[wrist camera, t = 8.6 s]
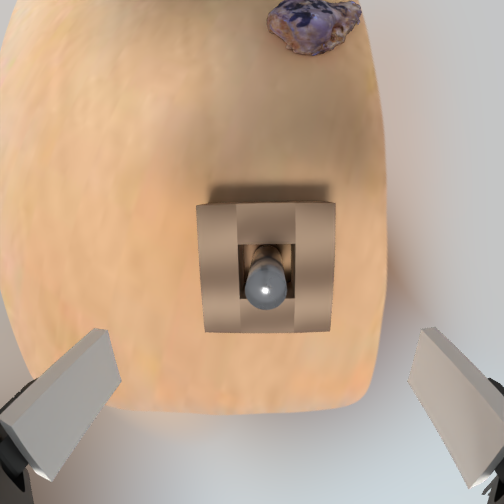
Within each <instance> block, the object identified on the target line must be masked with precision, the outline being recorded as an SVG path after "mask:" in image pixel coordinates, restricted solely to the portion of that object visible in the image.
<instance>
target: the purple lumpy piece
mask: <svg viewBox="0 0 504 504" xmlns="http://www.w3.org/2000/svg"><path fill="white" fill-rule="evenodd" d="M360 9H361V7H360V6H359V5H358V4H356V3H355V2H353V1H349V2H340V3H328V2H326V1H322V0H284V1H282V2H281V3H280V4H279V6H277V7H275V8H274V9H273V10H272V11H271V12H270V13H269V14H268V18H267V27H268V31H269V32H270V33H275V34H276V35H277V36H279V37H280V38H282V39H283V40H284V41H285V42H286V43H287V46H286V48H287V49H293V52H297V53H300V54H304V55H305V54H310V55H312V56H314V55H317V54H318V53H319V54H323V53H325V52H326V51H327V50H333V49H334V47H335V46H337V45H339V44H342V43H344V41H345V36H346V35H347V34H348V33H349V32H350V31H352V29H353V27H354V25H355V23H356V22H357V24H359V23H360V20H359V17H360V15H361V13H362V12H361V10H360ZM331 37H332V38H333V39H332V40H331Z"/></svg>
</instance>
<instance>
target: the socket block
mask: <svg viewBox="0 0 504 504" xmlns="http://www.w3.org/2000/svg"><path fill="white" fill-rule="evenodd" d="M196 211H197V233H198V250H199V266H200V280H201V293H202V305H203V316H204V327H205V332H215V333H303V332H327V331H330V325H331V313H332V299H333V282H334V261H335V203H331V202H325V201H281V202H233V203H208V204H202V205H196ZM243 244H291V282H286V286H287V295H286V298H285V300H284V301H283V303H282V304H281V305H279V306H278V307H276V308H274V309H271V310H261V309H258V308H256V307H254V306H253V305H251V304H250V302H249V301H248V300H247V297H246V294H245V286H246V283H244V261H243Z"/></svg>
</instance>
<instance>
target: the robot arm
mask: <svg viewBox="0 0 504 504" xmlns="http://www.w3.org/2000/svg"><path fill="white" fill-rule="evenodd" d="M407 382H408V383H409V385H410V387H411V388H412V390H413V391H414V393H415V395H416V396H417V398H418V399H419V401H420V403H421V405H422V406H423V408H424V409H425V411H426V413H427V414H428V416H429V418H430V419H431V421H432V423H433V425H434V426H435V428H436V430H437V432H438V433H439V435H440V436H441V438H442V440H443V442H444V444H445V446H446V447H447V449H448V451H449V453H450V455H451V456H452V458H453V460H454V462H455V464H456V466H457V467H458V469H459V471H460V473H461V475H462V477H463V479H464V481H465V483H466V485H467V487H468V489H471V488H473V487H475V486H477V485H479V484H480V483H482V482H484V481H486V480H487V478H488V477H489V476H490V475H491V474H492V472H493V471H494V470H495V472H496V473H497V476H496V477H495V478H494V479H493V480H492V482H491V483H490V484H489V485H488V486H487V487H486V488H485V489H484V491H483V493H482V495H485V494H486V492H487V491H488V490H489V489H490V488H491V487H492V488H491V492H490V493H489V494H488V495H489V500H488V503H487V504H504V387H503V386H502V385H501V384H500V383H498V382H496V381H494V380H493V379H491V378H488V379H487V378H486V377H485V376H484V375H483V374H482V373H481V371H480V370H478V368H477V367H476V366H475V365H474V364H473V363H472V362H471V361H470V360H469V359H468V358H467V357H466V356H465V355H464V354H463V353H462V352H461V351H459V349H458V348H457V347H456V346H455V345H454V344H453V343H452V342H450V341H449V339H447V338H446V337H445V336H444V335H443V334H442V333H441V332H440V331H439V330H438V329H437V328H436V327H431V328H425V329H421V331H420V336H419V340H418V345H417V348H416V352H415V356H414V360H413V364H412V367H411V371H410V374H409V378H408V381H407ZM120 383H121V377H120V374H119V371H118V367H117V364H116V360H115V357H114V353H113V349H112V345H111V341H110V337H109V333H108V330H103V329H95V328H94V329H93V330H91V331H90V332H89V333H88V334H87V335H86V336H84V337H83V338H82V339H81V340H80V341H79V342H78V343H77V344H75V345H74V346H73V347H72V348H71V349H70V350H69V351H67V352H66V353H65V354H64V355H63V356H62V357H61V358H60V359H59V360H57V361H56V362H55V363H54V364H53V365H52V366H51V367H50V368H49V369H48V370H46V371H45V372H44V373H43V374H42V375H41V376H40V377H39V378H37V379H35V380H33V381H31V382H29V383H28V384H27V385H26V386H24V387H23V388H22V389H21V392H18V393H17V394H16V395H15V397H14V398H12V399H11V400H10V401H9V402H8V403H6V404H5V405H4V406H3V407H2V408H1V409H0V504H34V502H33V497H32V491H31V485H30V478H29V473H28V470H27V469H26V468H25V467H26V466H27V465H28V463H29V465H30V466H31V467H32V468H33V470H34V471H35V472H36V473H37V474H38V475H40V476H42V477H44V478H45V479H47V480H49V481H51V482H52V481H53V480H54V478H55V476H56V475H57V473H58V472H59V470H60V469H61V467H62V466H63V464H64V463H65V461H66V460H67V458H68V457H69V456H70V454H71V453H72V451H73V450H74V448H75V447H76V445H77V444H78V442H79V441H80V439H81V438H82V436H83V435H84V434H85V432H86V431H87V429H88V428H89V426H90V425H91V423H92V422H93V421H94V419H95V418H96V416H97V415H98V413H99V412H100V411H101V409H102V408H103V406H104V405H105V404H106V402H107V401H108V399H109V398H110V397H111V395H112V394H113V392H114V391H115V390H116V388H117V387H118V385H119V384H120Z"/></svg>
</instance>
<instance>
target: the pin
mask: <svg viewBox="0 0 504 504" xmlns="http://www.w3.org/2000/svg"><path fill="white" fill-rule="evenodd" d="M245 294H246V297H247V300H248V301H249V302H250V304H251V305H253V306H254V307H256V308H258V309H261V310H271V309H274V308H276V307H278V306H279V305H281V304H282V303H283V301H284V300H285V298H286V295H287V286H286V280H285V275H284V269H283V264H282V258H281V254H280V252H279V251H278V250H277V249H276V248H275V247H273V246H269V245H265V246H261V247H259V248H258V249H257V250H256V251H255V253H254V255H253V259H252V263H251V266H250V270H249V274H248V278H247V282H246V286H245Z"/></svg>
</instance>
